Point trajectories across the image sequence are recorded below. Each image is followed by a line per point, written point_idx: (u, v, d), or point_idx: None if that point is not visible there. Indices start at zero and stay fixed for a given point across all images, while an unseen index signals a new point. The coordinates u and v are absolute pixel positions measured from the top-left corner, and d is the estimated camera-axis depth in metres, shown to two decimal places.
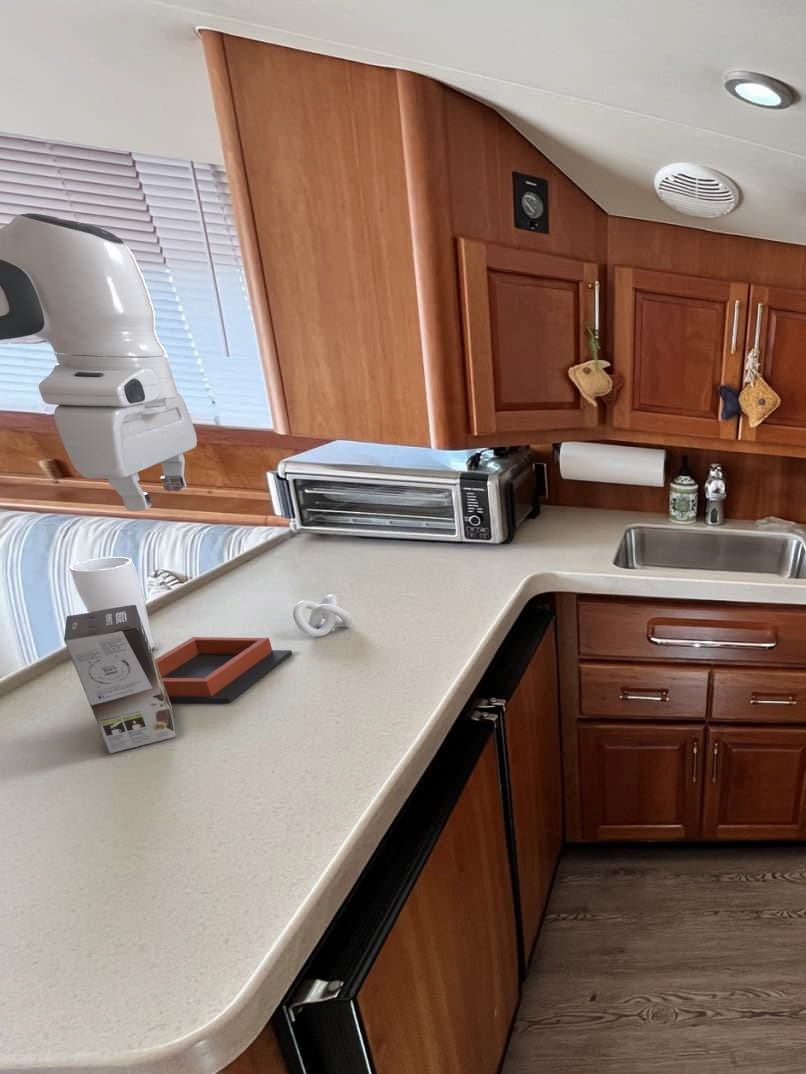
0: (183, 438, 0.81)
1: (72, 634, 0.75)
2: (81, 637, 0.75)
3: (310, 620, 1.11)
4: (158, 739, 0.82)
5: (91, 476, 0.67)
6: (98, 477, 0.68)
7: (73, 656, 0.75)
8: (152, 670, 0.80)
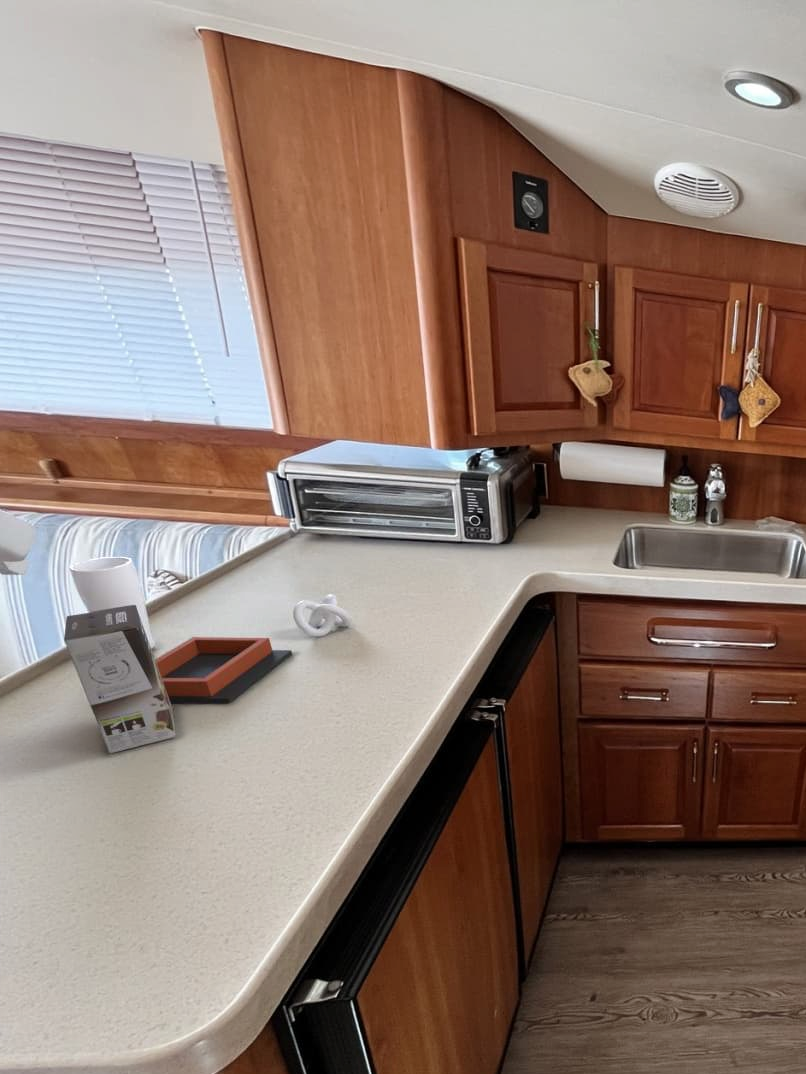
0: None
1: (72, 634, 0.75)
2: (81, 637, 0.75)
3: (310, 620, 1.11)
4: (158, 739, 0.82)
5: None
6: None
7: (73, 656, 0.75)
8: (152, 670, 0.80)
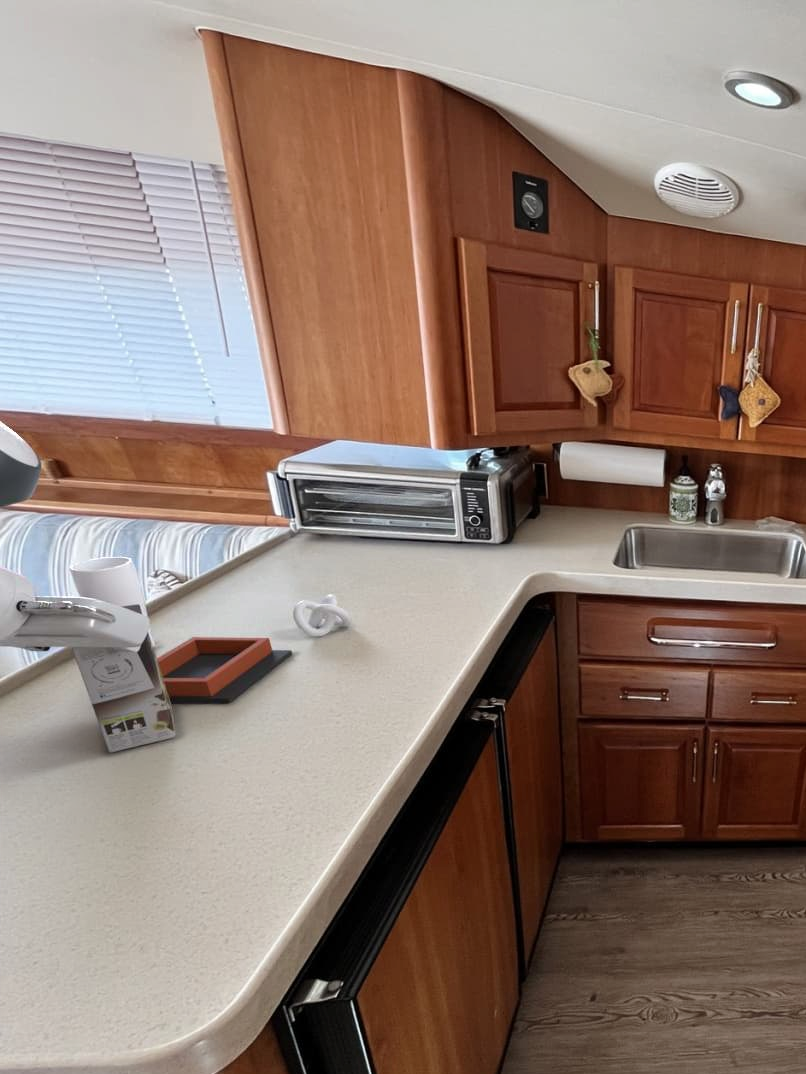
0: (93, 644, 0.71)
1: None
2: None
3: (310, 620, 1.11)
4: (158, 739, 0.82)
5: None
6: None
7: (76, 655, 0.75)
8: (154, 670, 0.80)
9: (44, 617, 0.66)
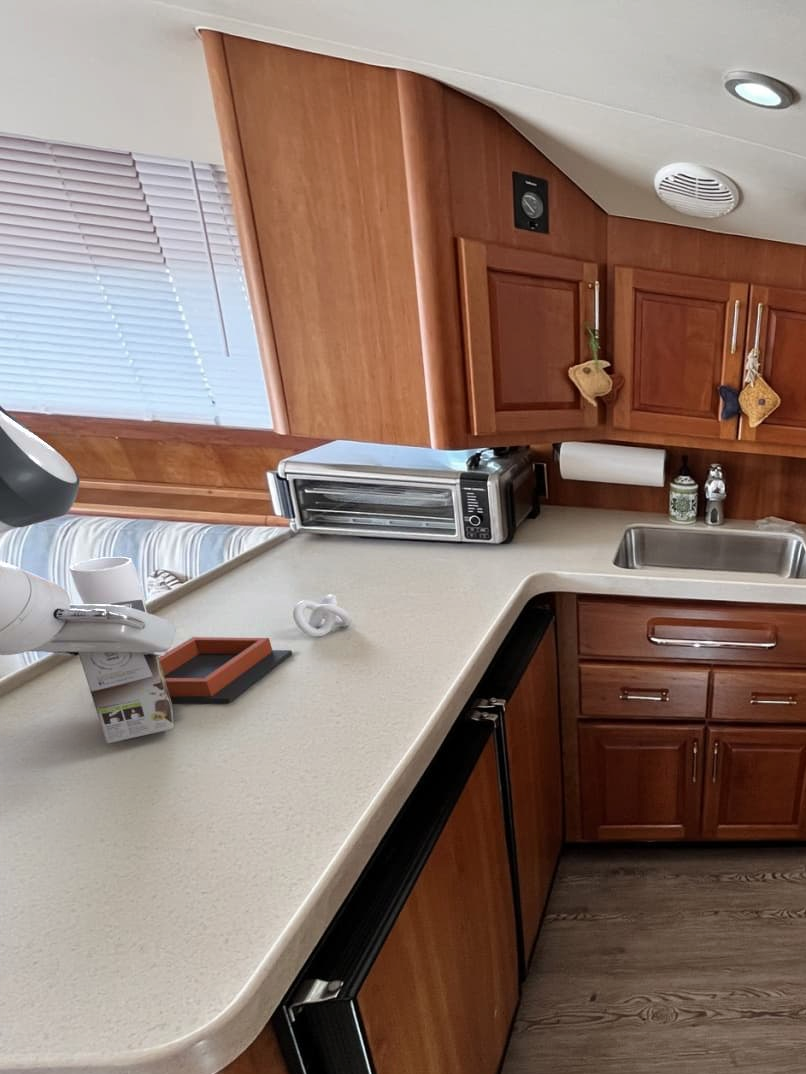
0: (123, 649, 0.75)
1: None
2: None
3: (310, 620, 1.11)
4: (156, 730, 0.82)
5: None
6: None
7: None
8: (153, 657, 0.81)
9: (79, 624, 0.70)
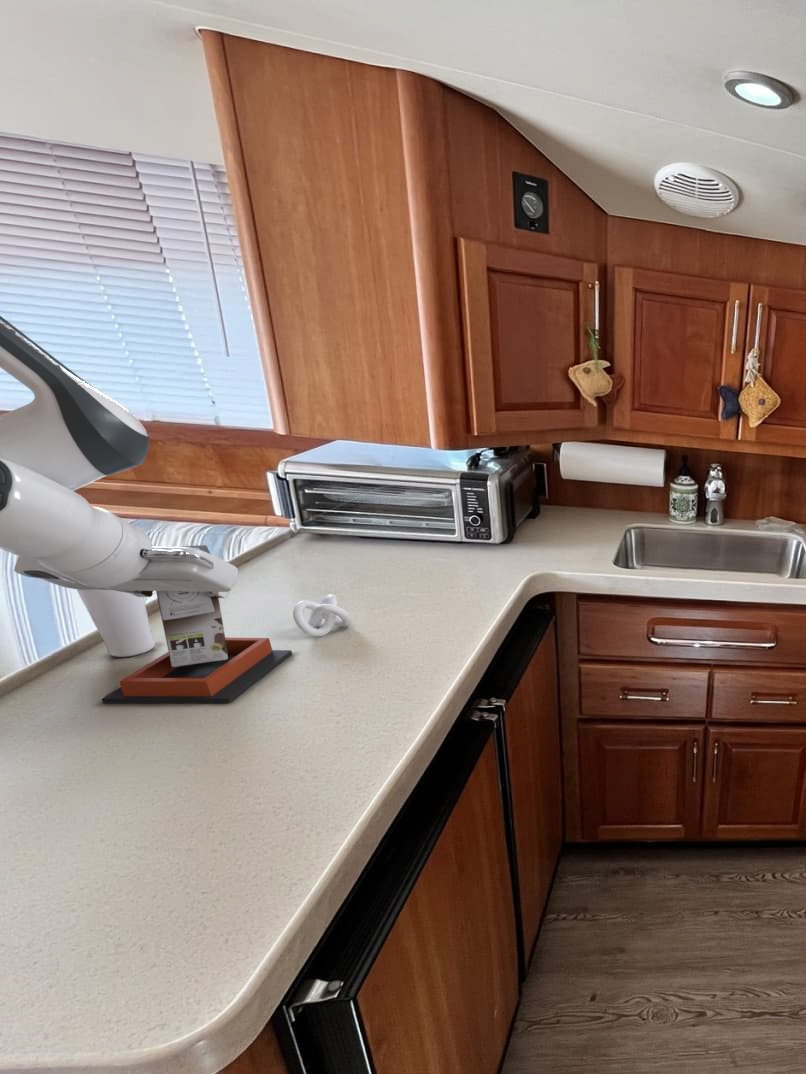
0: (193, 587, 0.86)
1: None
2: None
3: (310, 620, 1.11)
4: (213, 659, 0.94)
5: None
6: None
7: None
8: None
9: (160, 563, 0.81)
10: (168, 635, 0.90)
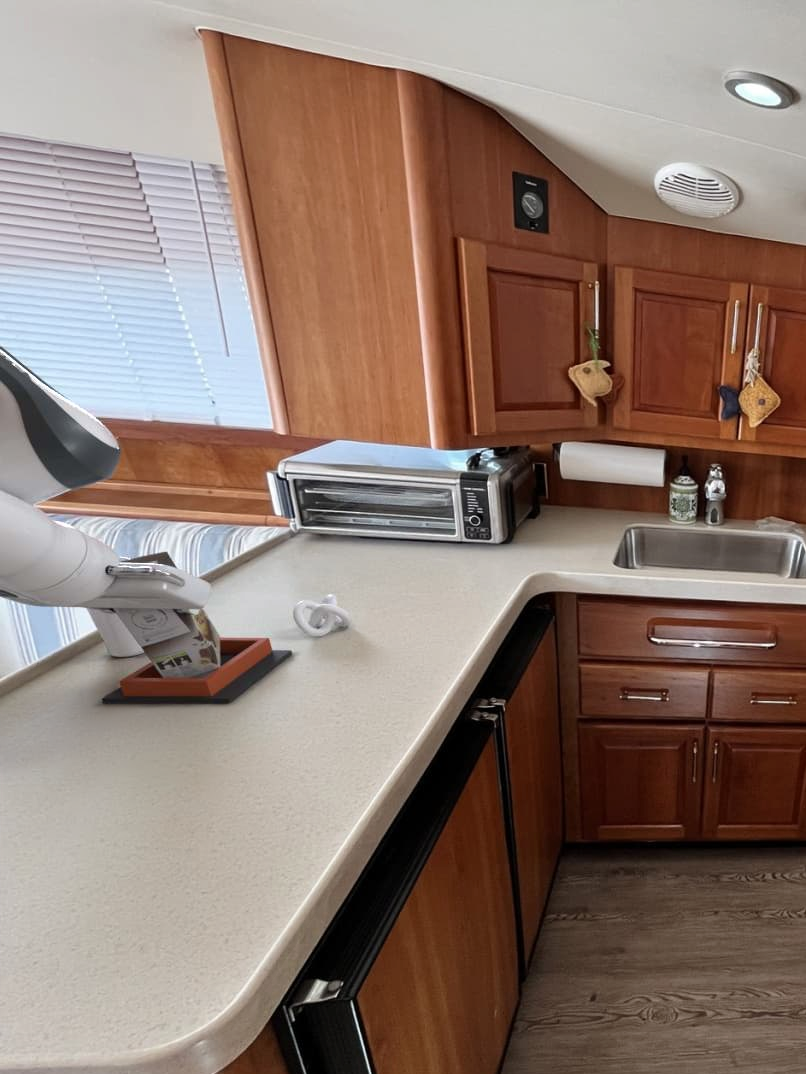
0: (163, 605, 0.82)
1: None
2: None
3: (310, 620, 1.11)
4: (206, 671, 0.93)
5: None
6: None
7: (115, 608, 0.83)
8: (187, 616, 0.88)
9: (127, 580, 0.77)
10: (152, 658, 0.88)
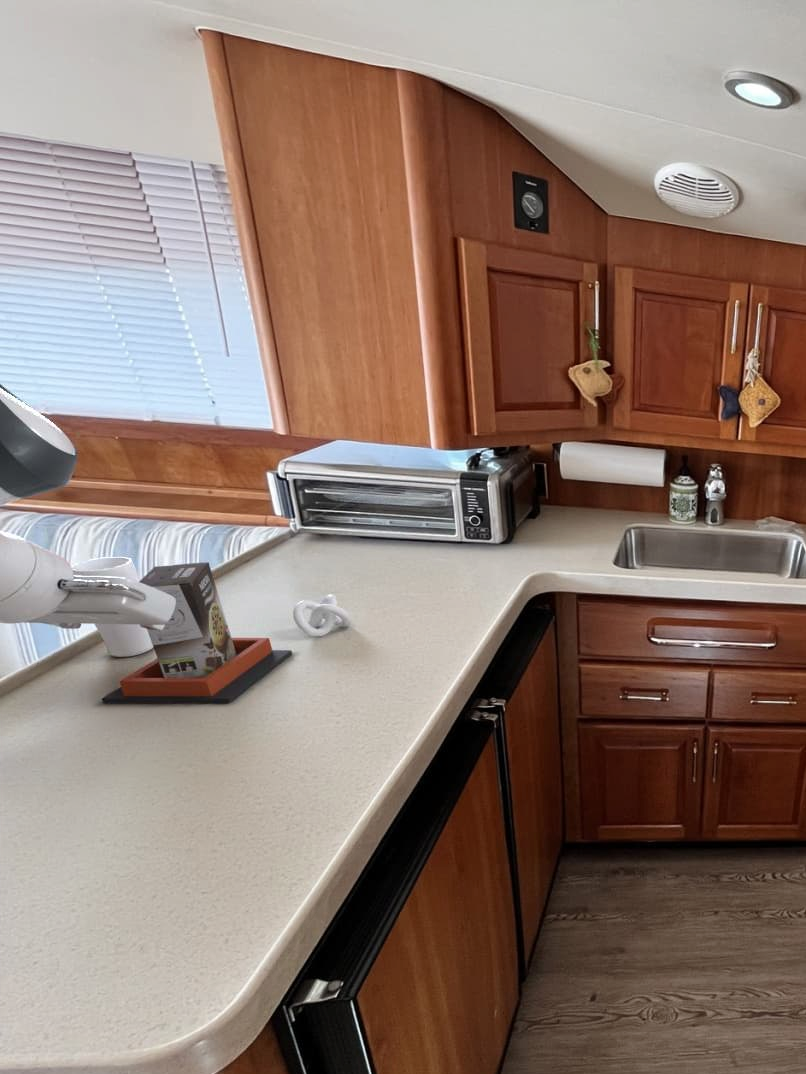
0: (123, 620, 0.77)
1: None
2: None
3: (310, 620, 1.11)
4: None
5: None
6: None
7: None
8: (203, 621, 0.91)
9: (81, 595, 0.72)
10: (160, 659, 0.90)
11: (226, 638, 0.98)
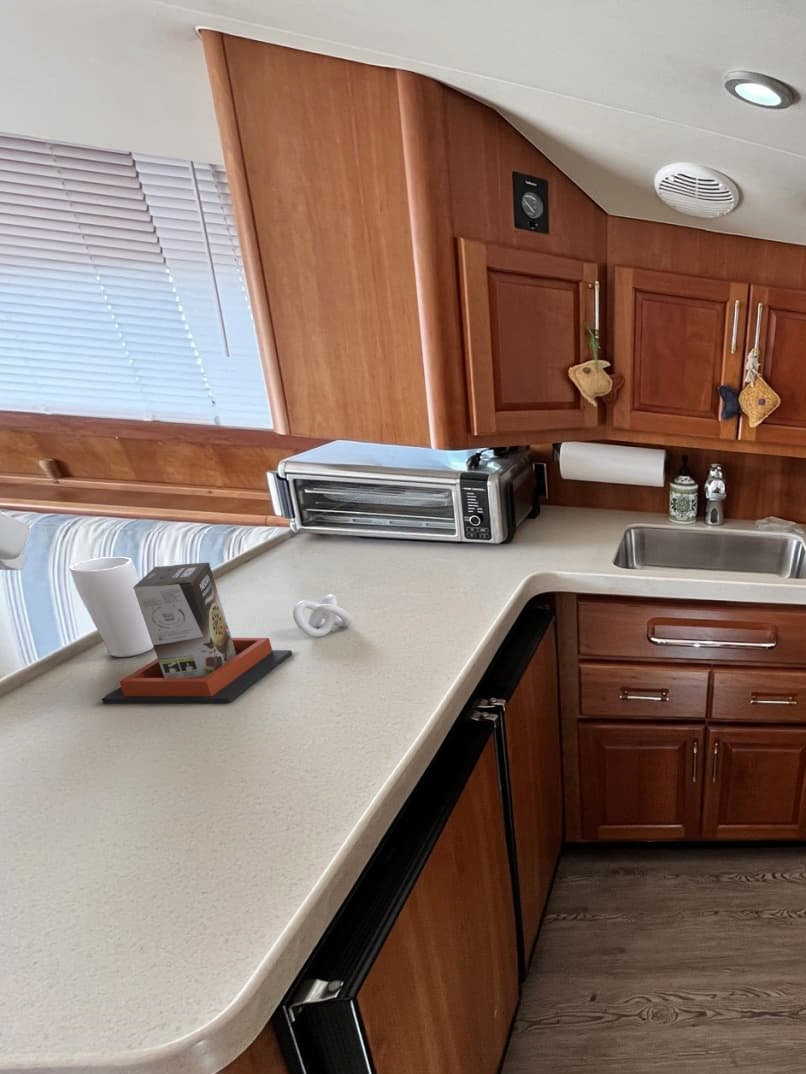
0: None
1: (143, 582, 0.87)
2: (146, 585, 0.87)
3: (310, 620, 1.11)
4: None
5: None
6: None
7: (140, 601, 0.87)
8: (203, 621, 0.91)
9: None
10: (160, 659, 0.90)
11: (226, 638, 0.98)
